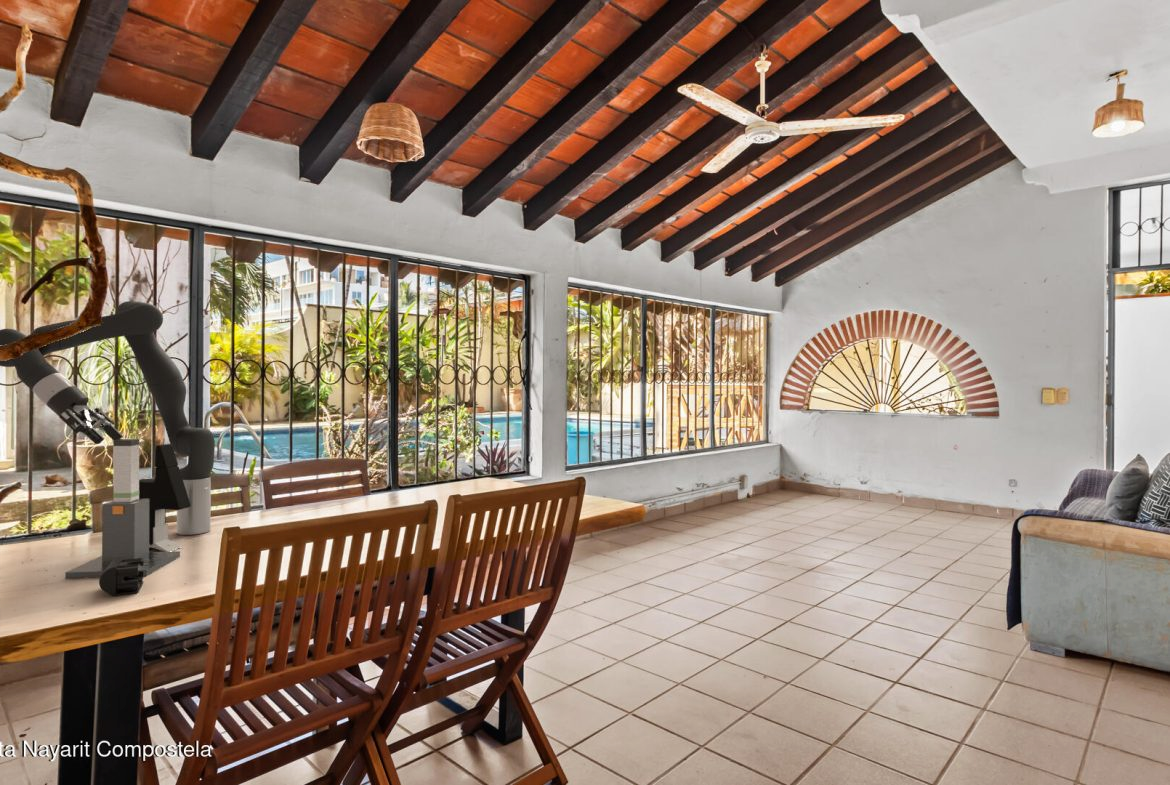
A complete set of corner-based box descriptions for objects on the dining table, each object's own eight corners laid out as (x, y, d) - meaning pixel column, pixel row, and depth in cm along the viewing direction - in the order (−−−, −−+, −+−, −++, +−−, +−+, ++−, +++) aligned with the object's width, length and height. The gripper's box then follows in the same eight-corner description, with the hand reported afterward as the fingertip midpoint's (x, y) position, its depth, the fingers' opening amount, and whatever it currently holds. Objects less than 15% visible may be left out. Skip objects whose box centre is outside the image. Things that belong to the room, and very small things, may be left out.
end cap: (107, 586, 152) (107, 557, 152) (143, 582, 155) (144, 554, 155) (98, 599, 143) (98, 568, 143) (137, 594, 146) (137, 565, 146)
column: (121, 534, 169) (122, 438, 169) (139, 534, 170) (139, 438, 170) (113, 538, 165) (113, 440, 165) (130, 538, 166) (131, 440, 166)
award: (191, 548, 187) (191, 444, 187) (178, 552, 182) (178, 445, 182) (142, 546, 189) (143, 443, 188) (128, 550, 184) (128, 444, 183)
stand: (107, 558, 175) (107, 495, 175) (179, 556, 178) (180, 494, 178) (65, 578, 157) (65, 508, 157) (146, 576, 160) (146, 507, 160)
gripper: (54, 384, 158) (106, 432, 160) (89, 384, 172) (136, 428, 174) (29, 406, 157) (82, 453, 159) (66, 404, 171) (114, 448, 173)
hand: (110, 440), depth 167 cm, fingers open, 8 cm apart
